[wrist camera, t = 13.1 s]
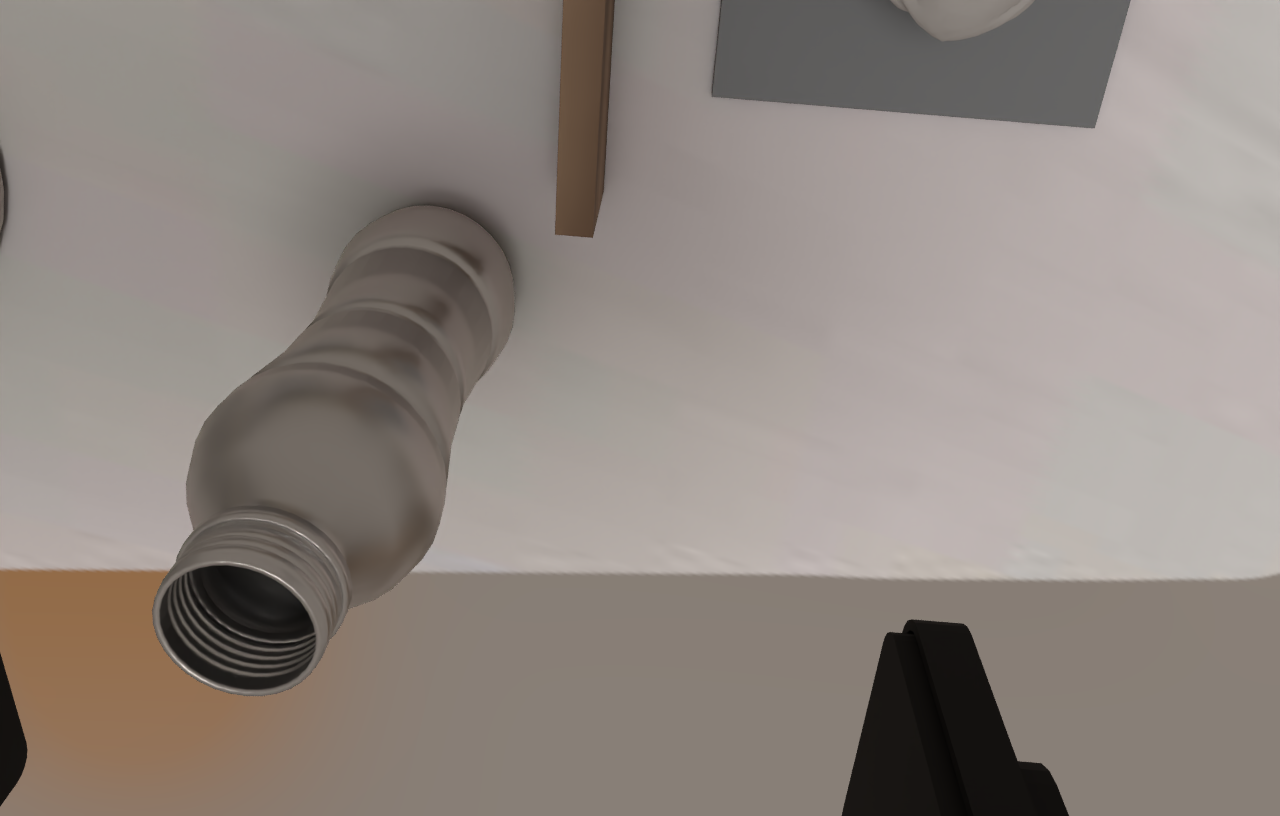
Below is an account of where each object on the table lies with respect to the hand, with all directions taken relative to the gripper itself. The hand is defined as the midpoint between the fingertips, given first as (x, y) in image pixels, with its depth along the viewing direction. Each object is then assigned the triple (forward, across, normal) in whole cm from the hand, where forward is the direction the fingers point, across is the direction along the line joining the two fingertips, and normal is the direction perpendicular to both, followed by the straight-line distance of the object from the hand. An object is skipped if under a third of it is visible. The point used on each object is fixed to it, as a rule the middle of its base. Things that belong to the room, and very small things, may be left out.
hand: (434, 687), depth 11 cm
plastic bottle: (+28, +6, +7) cm, 30 cm away
